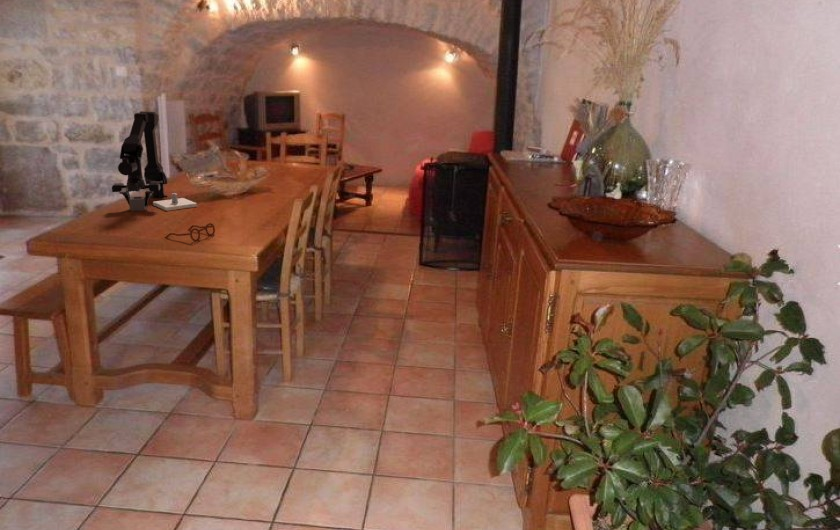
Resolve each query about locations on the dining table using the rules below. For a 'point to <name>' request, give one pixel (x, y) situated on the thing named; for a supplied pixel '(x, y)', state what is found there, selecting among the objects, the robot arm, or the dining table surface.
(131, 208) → the grey box housing
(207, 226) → the glasses
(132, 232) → the dining table surface
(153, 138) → the robot arm
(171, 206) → the base plate
